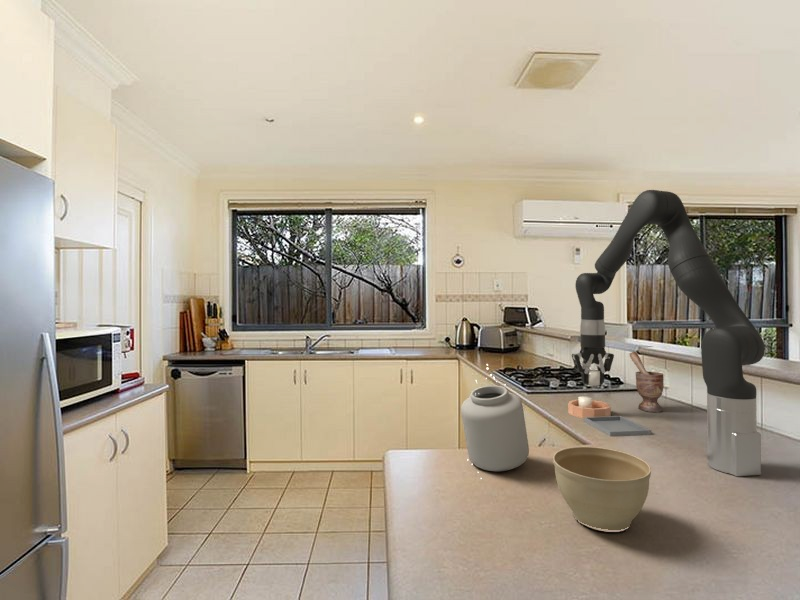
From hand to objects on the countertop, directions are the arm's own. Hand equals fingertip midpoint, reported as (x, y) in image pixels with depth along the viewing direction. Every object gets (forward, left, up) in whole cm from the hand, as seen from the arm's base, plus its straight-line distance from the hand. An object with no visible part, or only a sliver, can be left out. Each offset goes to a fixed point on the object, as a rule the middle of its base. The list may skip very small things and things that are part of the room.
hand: (592, 384), depth 144 cm
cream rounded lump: (+5, 0, -10) cm, 12 cm away
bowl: (+3, 0, -11) cm, 12 cm away
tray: (-13, 0, -11) cm, 17 cm away
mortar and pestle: (+9, -24, -12) cm, 28 cm away
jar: (-35, +45, -12) cm, 58 cm away
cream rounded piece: (0, 0, 0) cm, 0 cm away
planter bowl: (-62, +33, -12) cm, 72 cm away
